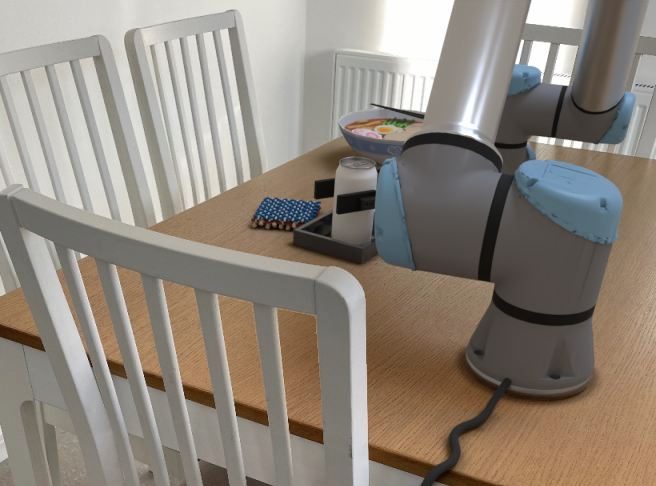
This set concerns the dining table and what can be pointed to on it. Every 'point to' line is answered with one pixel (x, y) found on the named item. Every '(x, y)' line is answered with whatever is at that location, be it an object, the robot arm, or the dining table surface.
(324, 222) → the tray
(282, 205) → the woven mat
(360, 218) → the can
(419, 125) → the ramen bowl
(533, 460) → the dining table surface
